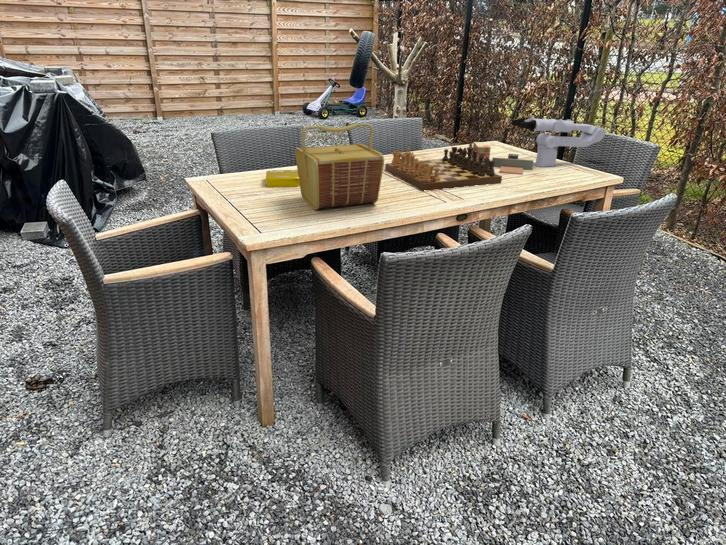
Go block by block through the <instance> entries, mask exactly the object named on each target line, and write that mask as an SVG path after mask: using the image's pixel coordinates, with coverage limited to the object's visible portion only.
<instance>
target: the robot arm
mask: <svg viewBox="0 0 726 545" xmlns="http://www.w3.org/2000/svg"><path fill="white" fill-rule="evenodd" d="M525 118H526V117H525V116H522V117H519V118H516V119H512V120H511V126H516V127H518V128H520V129H523V130H524V129H525V130H528V131H529V132H531V133H533V132H534V131H536V132H537V131H538V132H539V131H540V132H541V133H539V134H538V135H537V136H536V140H535V141H536V144H537V153H536V157H535V162H534V161H533V165H535V166H536V167H537V166H538V167H543V168H544V167H556V166H557V165H556V162H557V157H558V150H557V149H556V148H558V147H569V148H570V147H571V148H572V147H573V148H587V147H589V146H591V145H593V144H595V143H599V142H601V140H603V139H604V137H605V135H606V129H605V128H604V127H599V126H596V125H592V124H588V123H574V121H573V120H571V119H568V118H567V119H565V120H563V119H562V118H560V119H554V118H550V119H547V118H536V116H533V115H531V116H530V118H528V119H525ZM549 131H550V132H554V133H557V134H558V133H571V132H572V131H578V132H579V131H580V132H582V133H581V134H580V136H578V137H577V136H576V137H575V136H557V135H556V136H555V135H550V134H547V133H544V132H549Z"/></svg>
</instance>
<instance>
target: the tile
mask: <svg viewBox="0 0 726 545" xmlns="http://www.w3.org/2000/svg"><path fill="white" fill-rule="evenodd" d="M499 174H509V175H510V174H511V175H521V176H522V175H524V169H523V168H517V167H504V166H501V167H499Z"/></svg>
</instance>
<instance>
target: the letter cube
mask: <svg viewBox="0 0 726 545" xmlns="http://www.w3.org/2000/svg"><path fill="white" fill-rule="evenodd" d="M507 158H508V159H519V153H518V154H516V153H508V155H507Z"/></svg>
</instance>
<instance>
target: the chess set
mask: <svg viewBox="0 0 726 545" xmlns="http://www.w3.org/2000/svg"><path fill="white" fill-rule="evenodd" d="M472 143H473V142H469V144H468V146H467V147H464V148H461V146H459V148H458V147H457V146H451V151H449V149H447V148H445V149H444V151H443V157H442V158H440V159H439V158H437V159H426V160H419V158H415V157H416V155H415V154H414V152H412V151H410V147H408V146H407V147H406V151H403V152H401V151H397V150H395V151H392V156H393V157H392V160H391V162H390V163H384V164H385V166H384V168H385V171H387V172H389V173H391V174H392V175H394V176H395V177H398V178H399V179H401V180H403V181H405V182H406V183H408V184H410V185H411V184H412V185H411V186H413V187H415V188H416V189H418V188H419V190H420V189H421V190H420V191H422V190H423V191H422V192H425V191H424V190H430V191H435V190H434V189H439V190H444V189H443V188H449V189H455V188H454V187H459V188H467V187H466V186H469V187H476V186H475V185H479V186H486V184H489V185H496V184H497V185H498V184H501V183H502V179H503V177H502V175H499V174H497V173H496V172H495V170H494V169H495V167H494V165H495V161H492V160H490V157H489V158H488V157H486V158H485V160H484V161H483V159H484V157H483V155H482V153H481V155H480V156H479V157H478V156H477V152H478V151H477V150H476V148H475V150H473V149H474V148H473V147H472V145H473V144H472ZM472 152H473V153H472ZM471 155H472V157H473V159H471ZM476 157H478V159H479V161H476ZM482 162H483V163H482ZM484 163H485V164H484ZM464 186H465V187H464Z"/></svg>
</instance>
